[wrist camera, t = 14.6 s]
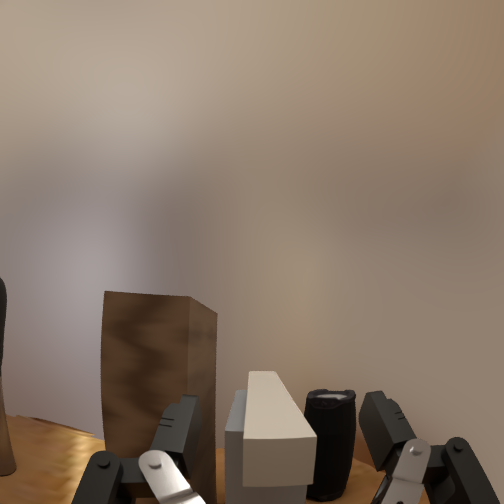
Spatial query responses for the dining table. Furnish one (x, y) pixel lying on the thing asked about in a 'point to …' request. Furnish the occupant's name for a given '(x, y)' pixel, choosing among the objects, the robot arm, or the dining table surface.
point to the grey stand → (236, 496)
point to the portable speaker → (331, 440)
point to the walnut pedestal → (158, 375)
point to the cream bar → (275, 436)
